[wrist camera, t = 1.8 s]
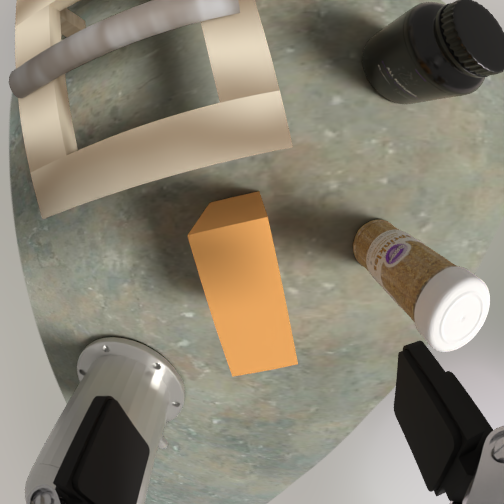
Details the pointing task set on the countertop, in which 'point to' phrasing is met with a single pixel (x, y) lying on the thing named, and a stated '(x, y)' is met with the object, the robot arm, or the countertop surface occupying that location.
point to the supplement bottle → (435, 52)
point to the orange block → (243, 284)
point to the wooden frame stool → (152, 134)
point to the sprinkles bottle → (424, 284)
